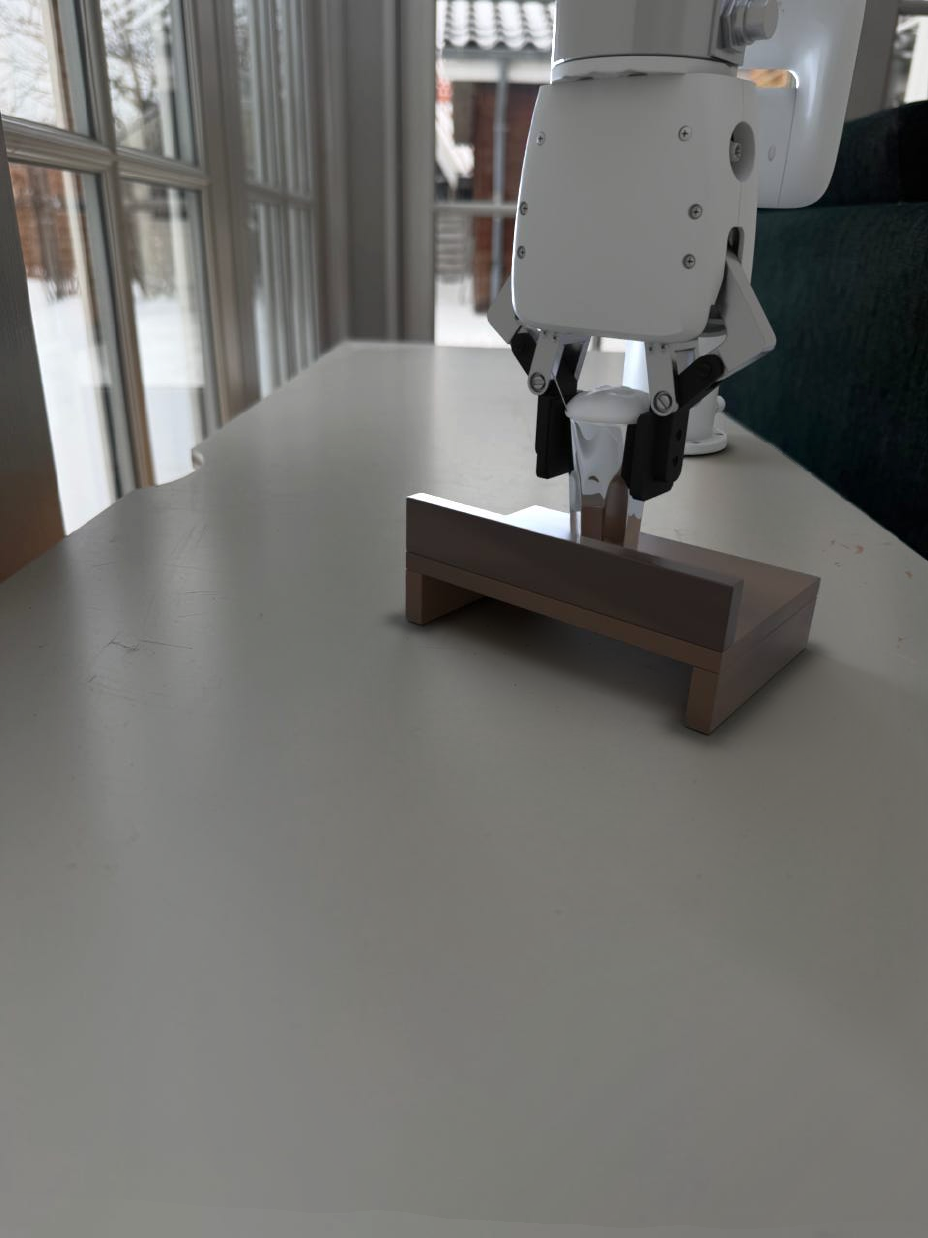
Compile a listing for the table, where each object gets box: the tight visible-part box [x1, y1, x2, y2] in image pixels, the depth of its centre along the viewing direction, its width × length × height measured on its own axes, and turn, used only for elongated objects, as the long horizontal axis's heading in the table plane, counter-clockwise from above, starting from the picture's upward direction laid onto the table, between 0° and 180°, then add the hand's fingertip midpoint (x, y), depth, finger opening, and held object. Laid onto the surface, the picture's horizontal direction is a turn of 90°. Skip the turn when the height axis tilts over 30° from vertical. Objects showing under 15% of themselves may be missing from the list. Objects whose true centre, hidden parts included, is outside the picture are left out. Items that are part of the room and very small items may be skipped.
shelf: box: [404, 492, 822, 735], centre depth 46 cm, size 12×18×7 cm, turn 51°
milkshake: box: [550, 369, 650, 551], centre depth 43 cm, size 5×5×10 cm
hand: (603, 479), depth 43 cm, fingers closed on milkshake, 4 cm apart
